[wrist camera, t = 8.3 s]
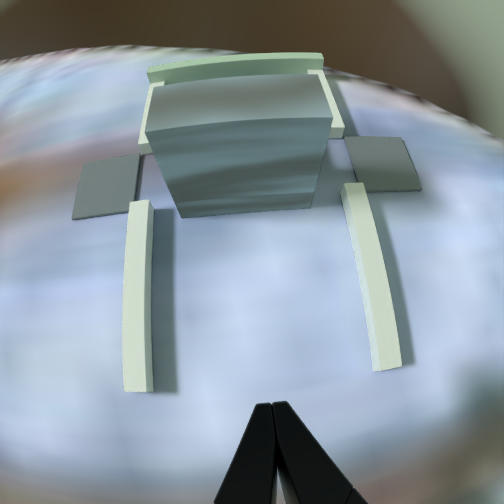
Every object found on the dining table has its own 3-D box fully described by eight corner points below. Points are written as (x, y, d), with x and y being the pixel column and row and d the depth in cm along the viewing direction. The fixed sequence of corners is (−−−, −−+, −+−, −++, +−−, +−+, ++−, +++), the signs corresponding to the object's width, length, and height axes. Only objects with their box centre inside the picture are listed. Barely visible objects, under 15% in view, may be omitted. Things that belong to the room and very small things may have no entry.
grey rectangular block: (309, 209, 25) (333, 117, 16) (182, 219, 25) (144, 132, 15) (285, 93, 30) (291, 11, 21) (188, 101, 30) (171, 20, 21)
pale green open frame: (393, 367, 20) (411, 364, 17) (132, 390, 20) (114, 391, 17) (318, 73, 31) (321, 53, 28) (154, 87, 31) (148, 67, 28)
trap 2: (133, 211, 25) (132, 209, 25) (73, 220, 25) (71, 218, 25) (140, 155, 27) (139, 153, 27) (84, 165, 27) (83, 164, 27)
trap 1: (420, 190, 25) (421, 189, 25) (360, 192, 25) (361, 190, 25) (400, 139, 27) (401, 137, 27) (343, 138, 27) (344, 136, 27)
